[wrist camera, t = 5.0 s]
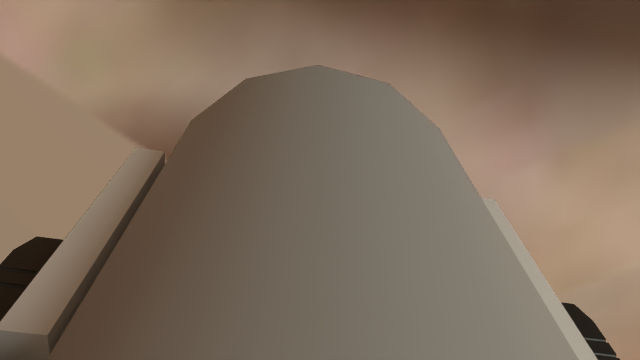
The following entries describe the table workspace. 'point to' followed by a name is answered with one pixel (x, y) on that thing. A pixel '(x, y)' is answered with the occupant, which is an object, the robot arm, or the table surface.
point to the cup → (312, 241)
